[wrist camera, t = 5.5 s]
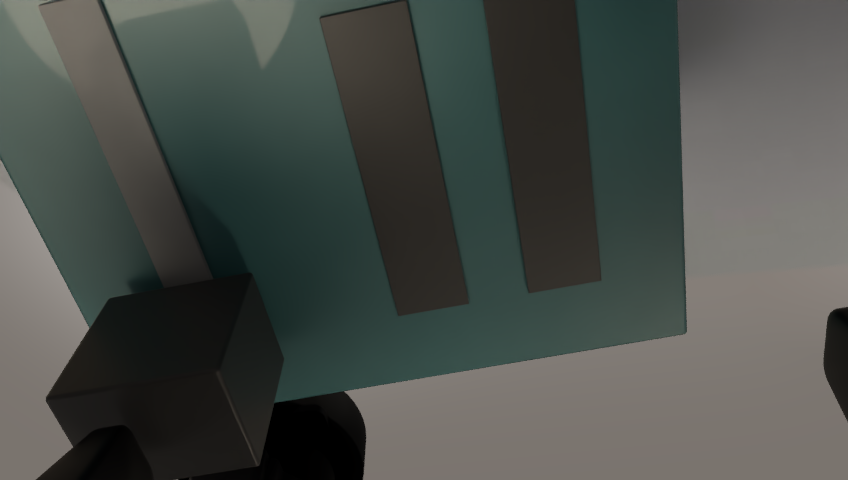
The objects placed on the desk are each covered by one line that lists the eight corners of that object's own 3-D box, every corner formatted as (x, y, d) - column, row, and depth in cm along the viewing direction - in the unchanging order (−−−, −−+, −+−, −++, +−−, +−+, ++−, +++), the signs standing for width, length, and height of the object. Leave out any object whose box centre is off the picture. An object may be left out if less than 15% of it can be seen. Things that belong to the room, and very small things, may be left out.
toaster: (574, 127, 21) (689, 338, 13) (244, 190, 22) (137, 430, 13) (542, -184, 18) (675, -190, 9) (143, -94, 18) (-99, -16, 10)
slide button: (285, 359, 12) (260, 467, 10) (150, 382, 13) (98, 493, 11) (252, 270, 12) (218, 368, 9) (107, 297, 12) (42, 399, 10)
